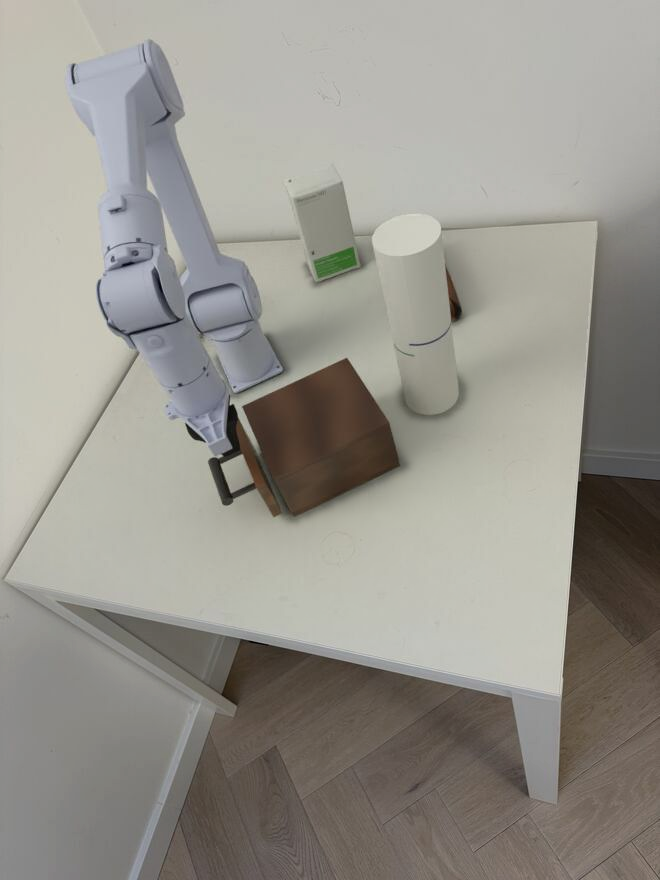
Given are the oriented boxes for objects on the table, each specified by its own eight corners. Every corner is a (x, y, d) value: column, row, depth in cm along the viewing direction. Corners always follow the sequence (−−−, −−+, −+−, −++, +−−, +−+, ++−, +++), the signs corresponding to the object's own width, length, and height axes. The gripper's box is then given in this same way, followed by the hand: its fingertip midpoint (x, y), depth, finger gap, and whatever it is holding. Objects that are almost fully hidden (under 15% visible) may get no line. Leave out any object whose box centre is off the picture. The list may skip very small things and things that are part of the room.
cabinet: (293, 517, 77) (272, 477, 71) (263, 447, 85) (241, 406, 79) (400, 466, 78) (389, 422, 72) (360, 401, 86) (347, 357, 80)
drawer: (238, 534, 77) (218, 504, 71) (215, 468, 84) (194, 437, 79) (373, 469, 78) (362, 436, 73) (338, 410, 85) (326, 375, 80)
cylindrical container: (456, 415, 81) (437, 253, 62) (401, 414, 83) (366, 258, 64) (460, 374, 85) (444, 210, 66) (408, 374, 87) (377, 216, 68)
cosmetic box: (315, 284, 105) (289, 199, 93) (306, 262, 109) (280, 179, 97) (363, 266, 105) (343, 180, 93) (352, 245, 109) (331, 160, 97)
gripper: (134, 341, 68) (185, 421, 78) (160, 431, 59) (214, 507, 69) (194, 314, 68) (237, 397, 79) (229, 399, 59) (272, 480, 69)
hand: (230, 447), depth 74 cm, fingers closed
